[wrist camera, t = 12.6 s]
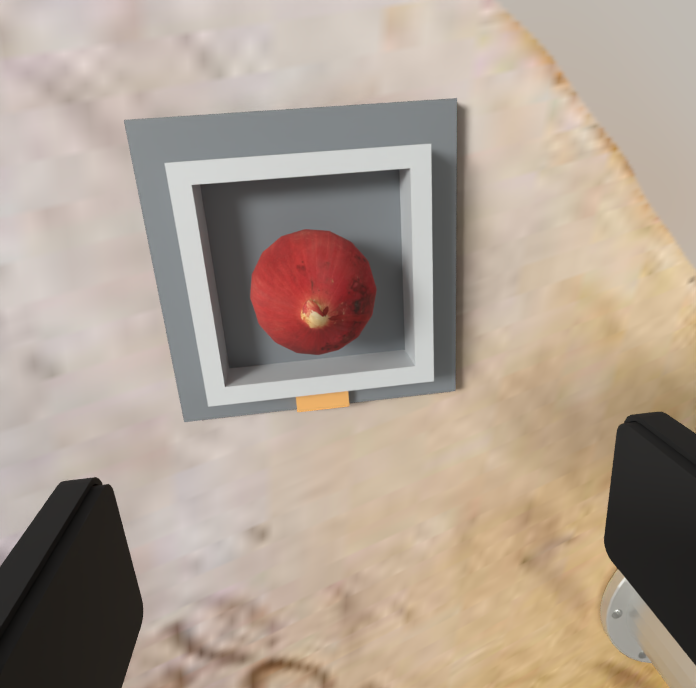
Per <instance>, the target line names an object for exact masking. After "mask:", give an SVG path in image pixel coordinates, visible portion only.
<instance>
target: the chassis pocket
mask: <svg viewBox="0 0 696 688" xmlns="http://www.w3.org/2000/svg"><path fill="white" fill-rule="evenodd" d="M124 124H125V129H126V134H127V139H128V144H129V149H130V154H131V159H132V164H133V169H134V174H135V179H136V184H137V189H138V194H139V199H140V204H141V209H142V214H143V219H144V224H145V229H146V234H147V239H148V244H149V249H150V253H151V258H152V263H153V268H154V273H155V278H156V283H157V288H158V293H159V298H160V303H161V308H162V313H163V318H164V323H165V328H166V333H167V338H168V343H169V348H170V353H171V358H172V363H173V368H174V373H175V378H176V383H177V388H178V393H179V398H180V403H181V408H182V413H183V418H184V422H189V421H198V420H207V419H216V418H224V417H233V416H242V415H250V414H259V413H268V412H276V411H285V410H294V409H297V412H305V411H313V410H322V409H331V408H339V407H348V406H349V403H355V402H363V401H372V400H381V399H390V398H398V397H407V396H416V395H424V394H433V393H442V392H451V391H456V177H457V98H453V99H438V100H422V101H407V102H392V103H377V104H361V105H346V106H331V107H315V108H300V109H285V110H270V111H254V112H239V113H224V114H208V115H193V116H178V117H163V118H147V119H132V120H124ZM304 229H310V230H324V231H331V232H333V233H335V234H337V235H339V236H341V237H343V238H345V239H347V240H349V241H351V242H352V243H353V244H354V245H355V247H356V248H357V249H358V250H359V251H360V252H361V253H362V254H363V255H364V256H365V258H366V259H367V260H368V262H369V265H370V268H371V271H372V275H373V278H374V281H375V285H376V288H377V290H376V296H375V302H374V308H373V314H372V317H371V318H370V320H369V321H368V323H367V324H366V326H365V327H364V329H363V330H362V332H361V333H360V335H359V336H358V337H357V338H356V339H355V340H353V341H352V342H350V343H349V344H347V345H346V346H344V347H343V348H341V349H339V350H337V351H333V352H329V353H325V354H321V355H311V354H301V353H296V352H294V351H292V350H289V349H287V348H285V347H283V346H281V345H279V344H277V343H276V342H274V341H273V340H272V338H271V337H270V336H269V335H268V334H267V333H266V332H265V331H264V329H263V328H262V327H261V326H260V325H259V323H258V320H257V316H256V313H255V310H254V307H253V304H252V301H251V299H250V293H251V279H252V273H253V271H254V269H255V267H256V265H257V263H258V260H259V258H260V256H261V254H262V252H263V251H264V250H266V249H267V248H268V247H269V246H270V245H272V244H273V243H274V242H275V241H276V240H277V239H279V238H280V237H281V236H284V235H287V234H291V233H294V232H297V231H301V230H304Z"/></svg>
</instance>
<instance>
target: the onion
mask: <svg viewBox="0 0 696 688" xmlns="http://www.w3.org/2000/svg"><path fill="white" fill-rule="evenodd" d="M376 290H377V288H376V285H375V281H374V278H373V275H372V271H371V268H370V265H369V262H368V260H367V259H366V258H365V256H364V255H363V254H362V253H361V252H360V251H359V250H358V249H357V248H356V247H355V245H354V244H353V243H352V242H351V241H349V240H347V239H345V238H343V237H341V236H339V235H337V234H335V233H333V232H331V231H324V230H310V229H304V230H301V231H297V232H294V233H291V234H287V235H284V236H281V237H280V238H279V239H277V240H276V241H275V242H274V243H273V244H272V245H270V246H269V247H268V248H267V249H266V250H264V251H263V252H262V254H261V256H260V258H259V260H258V263H257V265H256V267H255V269H254V271H253V273H252V279H251V293H250V299H251V301H252V304H253V307H254V310H255V313H256V316H257V320H258V323H259V325H260V326H261V327H262V328H263V329H264V331H265V332H266V333H267V334H268V335H269V336H270V337H271V338H272V340H273V341H274V342H276V343H277V344H279V345H281V346H283V347H285V348H287V349H289V350H292V351H294V352H296V353H301V354H311V355H321V354H325V353H329V352H333V351H337V350H339V349H341V348H343V347H344V346H346V345H347V344H349V343H350V342H352V341H353V340H355V339H356V338H357V337H358V336H359V335H360V333H361V332H362V330H363V329H364V327H365V326H366V324H367V323H368V321H369V320H370V318H371V317H372V314H373V308H374V302H375V296H376Z"/></svg>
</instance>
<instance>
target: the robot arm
mask: <svg viewBox="0 0 696 688" xmlns="http://www.w3.org/2000/svg"><path fill="white" fill-rule="evenodd" d="M604 544H605V548H606V552H607V554H608V556H609V558H610V559H611V561H612V562H613V563H614V565H615V566H616V567H617V568H618V570H617V571H616V572H615V573H614V575H613V577H612V578H611V580H610V581H609V583H608V585H607V587H606V590H605V592H604V594H603V597H602V602H601V607H600V616H601V623H602V626H603V629H604V631H605V633H606V634H607V636H608V637H609V639H610V640H611V642H612V644H613V645H614V646H615V647H616V648H617V649H618V650H619V651H620V652H621V653H623V654H624V655H626V656H627V657H629V658H632V659H634V660H637V661H641V662H647V663H652V664H653V665H654V667H655V668H656V669H657V671H658V672H659V674H660V675H661V676H662V678H663V679H664V680H665V682H666V683H667V685H668V686H669V687H670V688H696V434H695V433H694V432H692V431H691V430H690V429H688V428H687V427H685V426H684V425H682V424H681V423H679V422H678V421H676V420H675V419H673V418H672V417H670V416H669V415H667V414H665V413H663V412H652V413H643V414H635V415H630V416H628V417H627V418H626V420H625V422H624V424H621V425H619V427H618V429H617V434H616V443H615V451H614V460H613V468H612V476H611V485H610V493H609V502H608V510H607V518H606V527H605V535H604ZM142 619H143V603H142V598H141V594H140V590H139V586H138V583H137V579H136V575H135V571H134V567H133V563H132V560H131V556H130V552H129V548H128V544H127V540H126V537H125V533H124V529H123V525H122V521H121V518H120V514H119V510H118V506H117V502H116V498H115V495H114V491H113V488H112V487H111V485H109V484H106V485H102V482H101V481H100V479H98V478H96V477H94V478H86V479H77V480H69V481H63V482H61V483H60V484H59V485H58V486H57V487H56V488H55V490H54V491H53V493H52V494H51V496H50V497H49V498H48V500H47V501H46V503H45V504H44V505H43V507H42V508H41V510H40V511H39V513H38V514H37V515H36V517H35V518H34V520H33V521H32V522H31V524H30V525H29V527H28V528H27V530H26V531H25V532H24V534H23V535H22V537H21V538H20V539H19V541H18V542H17V544H16V545H15V547H14V548H13V549H12V551H11V552H10V554H9V555H8V556H7V558H6V559H5V561H4V562H3V564H2V565H1V566H0V688H122V685H123V682H124V678H125V675H126V672H127V669H128V666H129V663H130V659H131V656H132V653H133V650H134V647H135V644H136V640H137V637H138V634H139V631H140V628H141V624H142Z"/></svg>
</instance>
